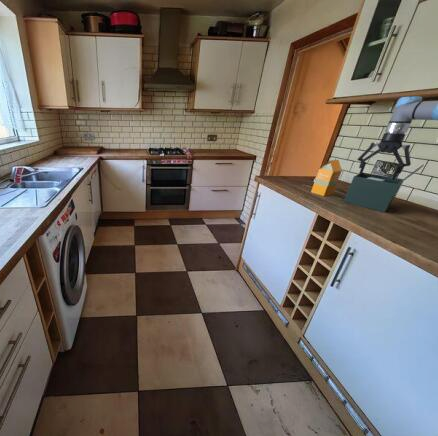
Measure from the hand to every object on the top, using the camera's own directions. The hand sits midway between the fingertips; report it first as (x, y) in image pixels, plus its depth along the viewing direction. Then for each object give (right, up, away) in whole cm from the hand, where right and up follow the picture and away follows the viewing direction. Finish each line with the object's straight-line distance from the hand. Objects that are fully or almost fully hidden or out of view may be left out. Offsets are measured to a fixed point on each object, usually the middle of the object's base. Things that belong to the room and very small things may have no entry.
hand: (375, 176), depth 118 cm
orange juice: (-13, -7, +20) cm, 25 cm away
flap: (+7, 0, -10) cm, 12 cm away
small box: (0, -13, +6) cm, 14 cm away
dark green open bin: (0, -14, +6) cm, 15 cm away
